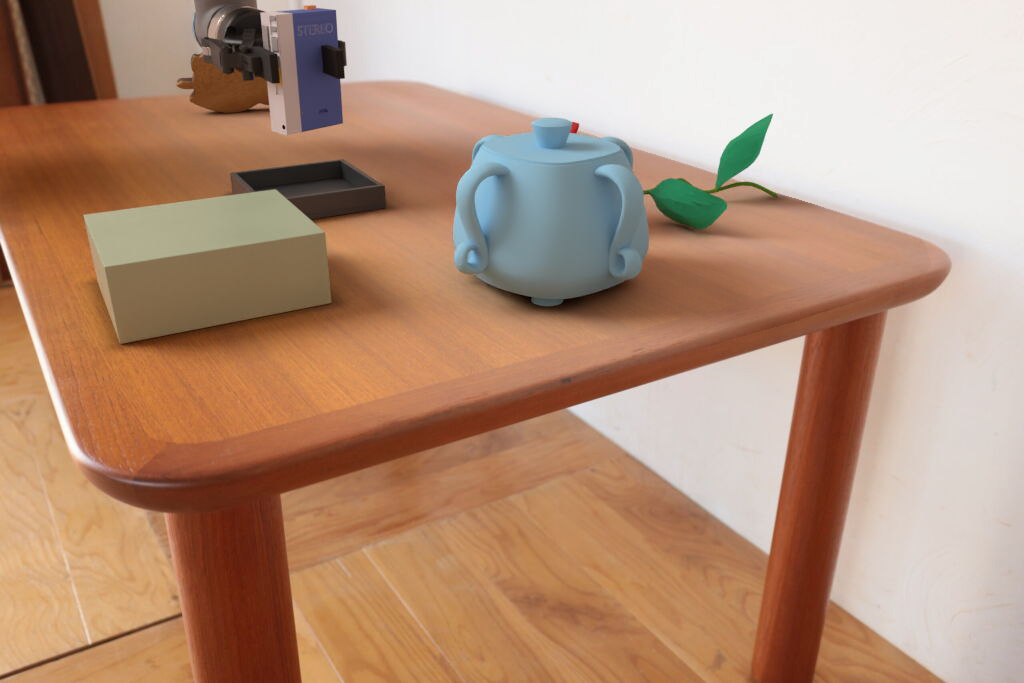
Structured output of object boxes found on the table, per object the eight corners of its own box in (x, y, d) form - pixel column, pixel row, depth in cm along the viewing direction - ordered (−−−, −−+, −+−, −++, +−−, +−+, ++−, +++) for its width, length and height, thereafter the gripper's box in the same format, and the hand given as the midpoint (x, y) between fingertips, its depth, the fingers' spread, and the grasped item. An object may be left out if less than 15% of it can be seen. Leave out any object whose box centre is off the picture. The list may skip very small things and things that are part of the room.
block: (97, 282, 76) (83, 214, 74) (283, 252, 83) (275, 188, 81) (120, 344, 65) (104, 267, 62) (331, 303, 72) (325, 232, 70)
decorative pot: (430, 309, 71) (423, 138, 65) (476, 243, 85) (474, 97, 79) (637, 326, 68) (648, 148, 62) (649, 254, 82) (659, 104, 77)
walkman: (325, 120, 99) (317, 4, 93) (343, 123, 97) (336, 6, 92) (268, 131, 93) (256, 8, 88) (286, 135, 91) (275, 10, 86)
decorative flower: (833, 230, 89) (850, 132, 85) (548, 253, 83) (550, 148, 79) (766, 191, 102) (777, 104, 97) (512, 209, 95) (512, 116, 91)
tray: (232, 194, 100) (229, 172, 99) (345, 179, 106) (343, 158, 105) (263, 226, 90) (260, 202, 89) (386, 208, 96) (385, 185, 95)
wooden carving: (283, 104, 149) (276, 41, 144) (288, 109, 145) (282, 45, 141) (179, 112, 143) (169, 47, 138) (182, 118, 139) (171, 50, 135)
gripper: (328, 68, 112) (399, 98, 93) (170, 78, 103) (214, 114, 85) (323, 4, 108) (396, 22, 90) (160, 9, 100) (203, 30, 82)
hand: (308, 66), depth 88 cm, fingers closed on walkman, 6 cm apart
